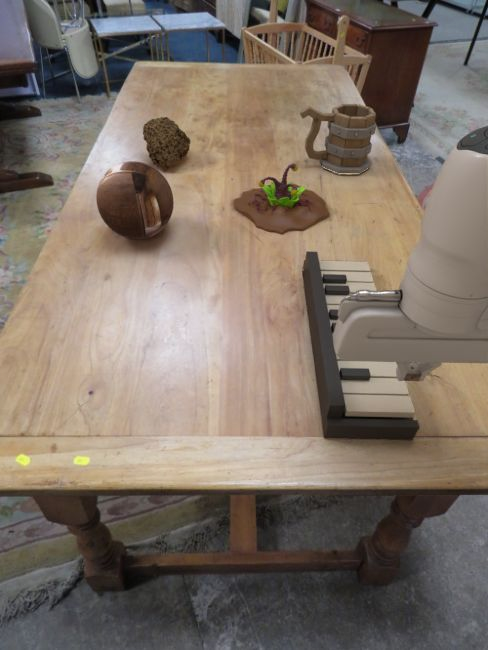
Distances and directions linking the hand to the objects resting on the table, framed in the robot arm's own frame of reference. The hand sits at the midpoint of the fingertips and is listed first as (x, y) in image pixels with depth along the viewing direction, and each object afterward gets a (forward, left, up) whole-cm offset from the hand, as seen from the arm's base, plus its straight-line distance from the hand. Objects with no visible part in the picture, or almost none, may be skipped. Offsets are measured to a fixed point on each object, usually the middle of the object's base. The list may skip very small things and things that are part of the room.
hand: (408, 377), depth 54 cm
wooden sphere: (+62, +7, -10) cm, 63 cm away
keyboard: (+14, -6, -10) cm, 18 cm away
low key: (+25, -16, -7) cm, 31 cm away
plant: (+51, -23, -10) cm, 57 cm away
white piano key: (+1, +2, -7) cm, 7 cm away
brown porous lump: (+90, -15, -10) cm, 92 cm away
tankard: (+63, -50, -10) cm, 81 cm away
